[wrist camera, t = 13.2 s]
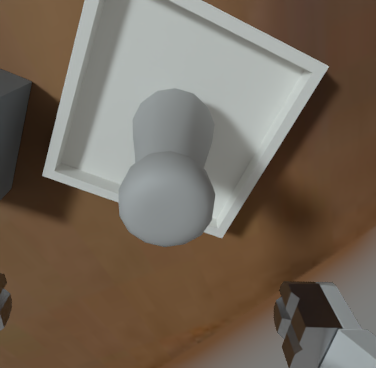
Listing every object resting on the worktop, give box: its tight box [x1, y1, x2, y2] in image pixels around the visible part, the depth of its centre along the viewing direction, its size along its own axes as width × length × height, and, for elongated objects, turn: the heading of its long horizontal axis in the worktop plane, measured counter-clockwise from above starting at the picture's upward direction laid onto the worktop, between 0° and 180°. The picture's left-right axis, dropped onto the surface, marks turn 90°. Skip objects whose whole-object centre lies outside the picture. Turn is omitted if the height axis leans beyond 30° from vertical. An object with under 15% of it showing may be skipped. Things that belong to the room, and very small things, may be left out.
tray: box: [42, 0, 329, 238], centre depth 24 cm, size 16×16×2 cm
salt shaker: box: [119, 88, 215, 247], centre depth 19 cm, size 6×6×13 cm
